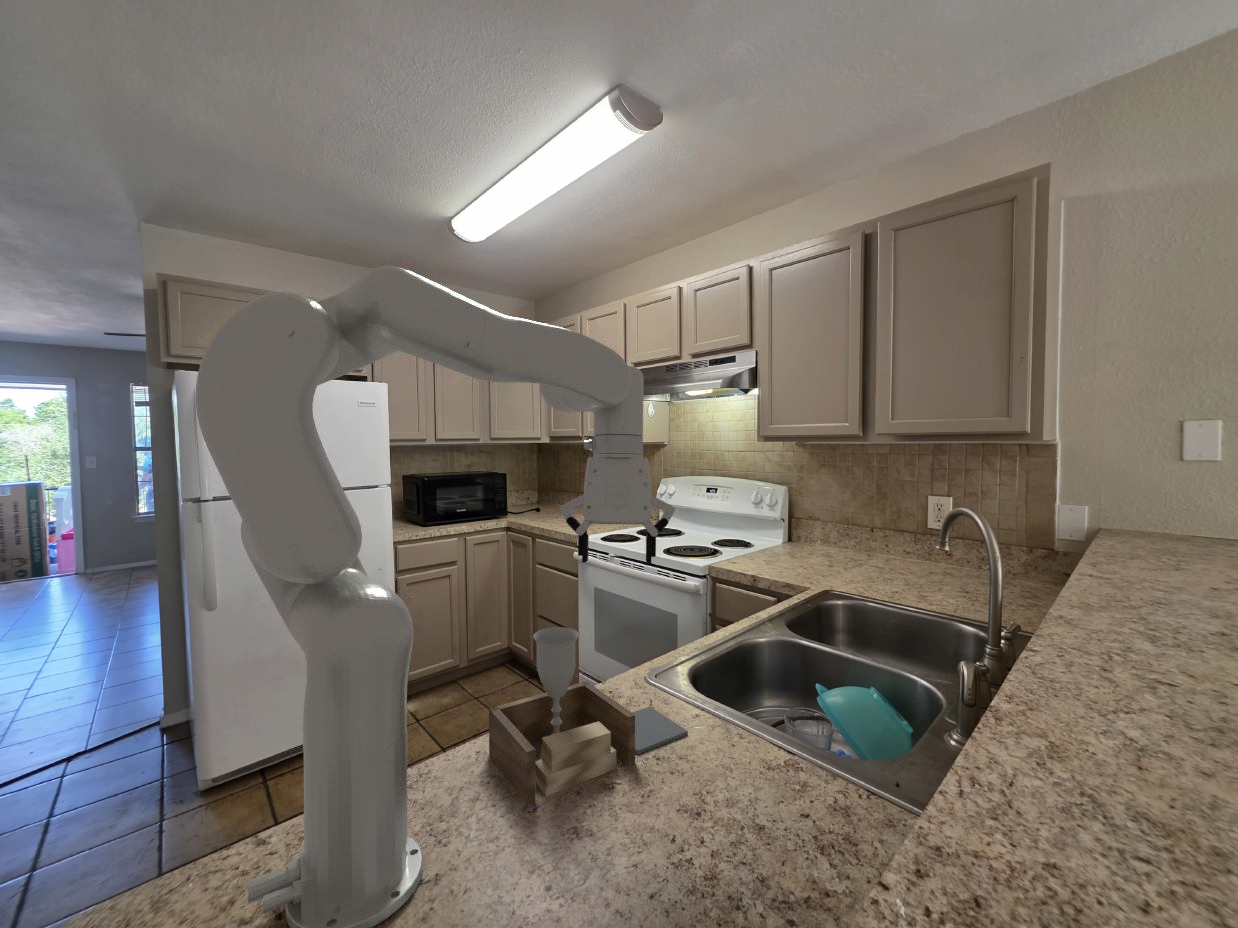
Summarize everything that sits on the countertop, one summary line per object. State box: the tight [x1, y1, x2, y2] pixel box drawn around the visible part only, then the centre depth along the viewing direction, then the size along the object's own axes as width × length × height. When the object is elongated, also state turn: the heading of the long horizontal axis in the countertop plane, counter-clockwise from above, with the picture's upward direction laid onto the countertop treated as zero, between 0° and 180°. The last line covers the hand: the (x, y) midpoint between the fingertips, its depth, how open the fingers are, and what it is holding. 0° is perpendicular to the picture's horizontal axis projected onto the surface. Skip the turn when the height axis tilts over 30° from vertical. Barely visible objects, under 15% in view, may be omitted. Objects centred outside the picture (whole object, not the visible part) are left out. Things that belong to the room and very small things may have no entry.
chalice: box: [532, 626, 580, 760], centre depth 77 cm, size 7×7×18 cm
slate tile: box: [631, 706, 689, 755], centre depth 83 cm, size 10×10×1 cm
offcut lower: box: [536, 746, 617, 797], centre depth 72 cm, size 11×4×3 cm, turn 123°
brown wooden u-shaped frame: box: [488, 680, 636, 808], centre depth 75 cm, size 17×14×7 cm
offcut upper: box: [541, 722, 611, 773], centre depth 72 cm, size 9×4×3 cm, turn 120°
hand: (616, 561), depth 77 cm, fingers open, 9 cm apart
